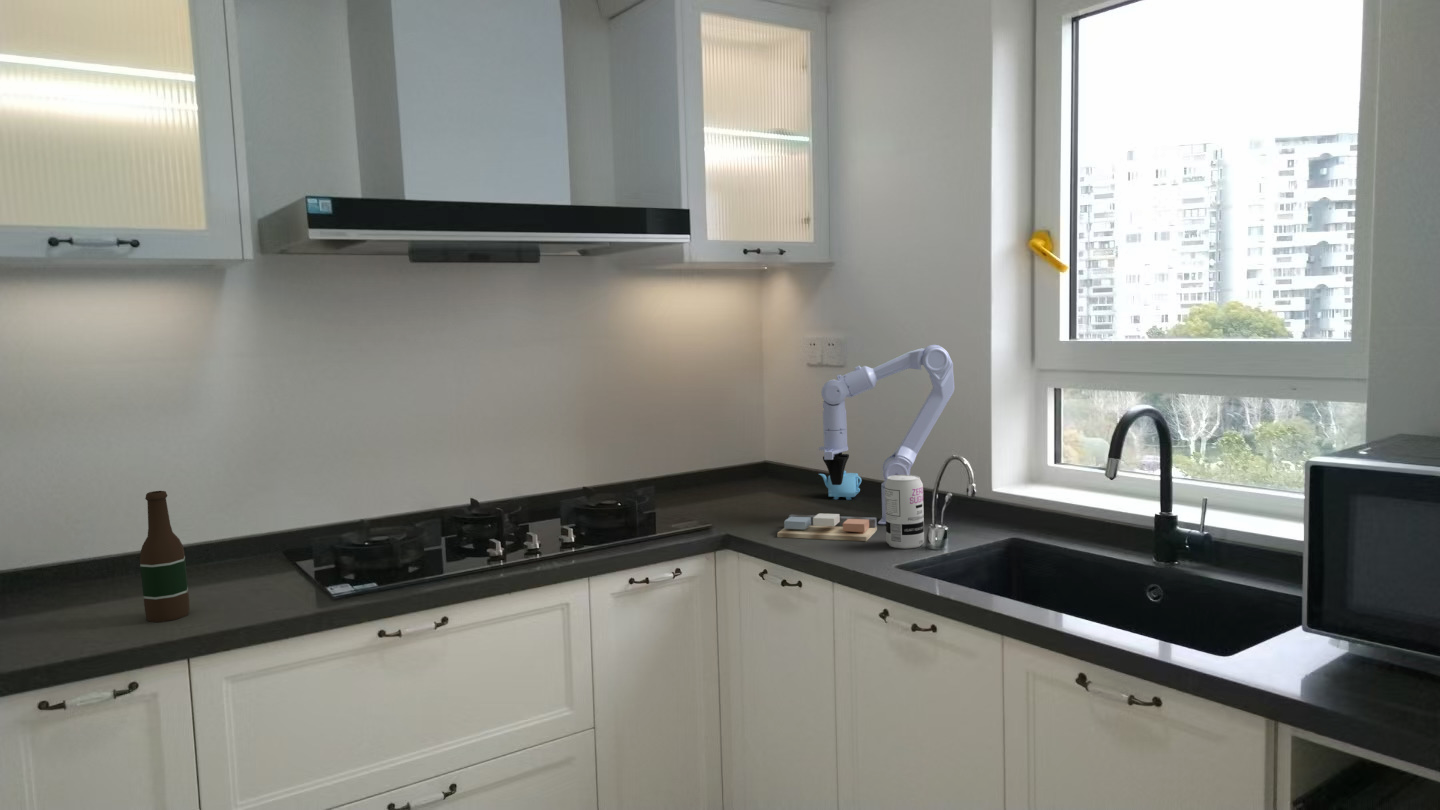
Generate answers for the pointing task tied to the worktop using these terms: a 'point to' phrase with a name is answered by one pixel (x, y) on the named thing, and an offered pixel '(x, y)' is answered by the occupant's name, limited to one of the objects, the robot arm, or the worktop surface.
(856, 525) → the key terracotta
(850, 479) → the teapot
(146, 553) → the beer bottle
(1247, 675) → the worktop surface
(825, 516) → the key middle
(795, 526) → the key slate
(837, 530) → the keypad base
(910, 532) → the supplement can
